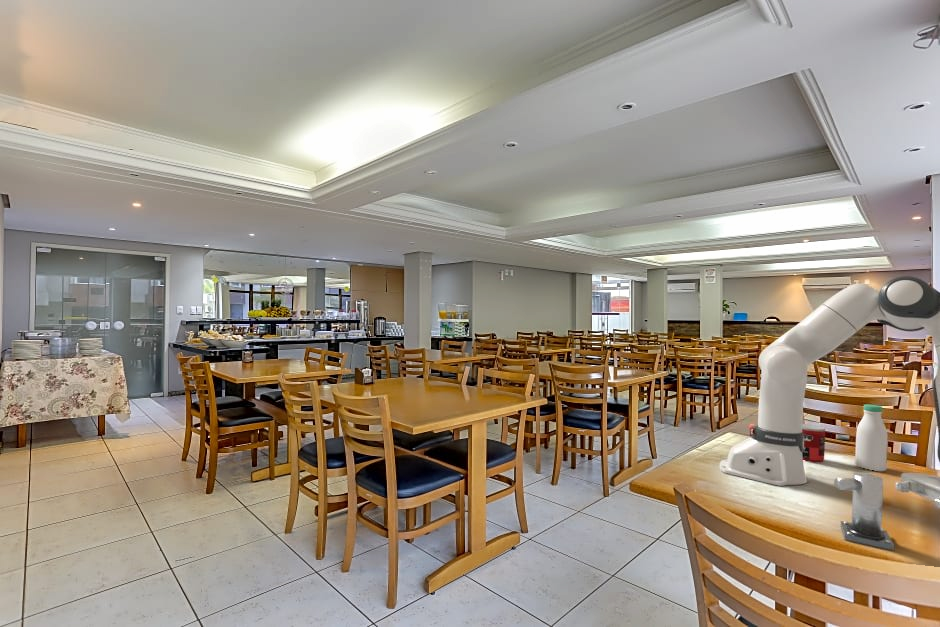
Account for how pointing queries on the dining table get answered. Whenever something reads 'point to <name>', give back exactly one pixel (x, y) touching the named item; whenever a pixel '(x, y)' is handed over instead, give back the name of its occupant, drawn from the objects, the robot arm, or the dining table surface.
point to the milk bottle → (871, 440)
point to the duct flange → (867, 537)
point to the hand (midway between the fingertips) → (917, 495)
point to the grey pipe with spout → (864, 502)
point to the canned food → (813, 443)
